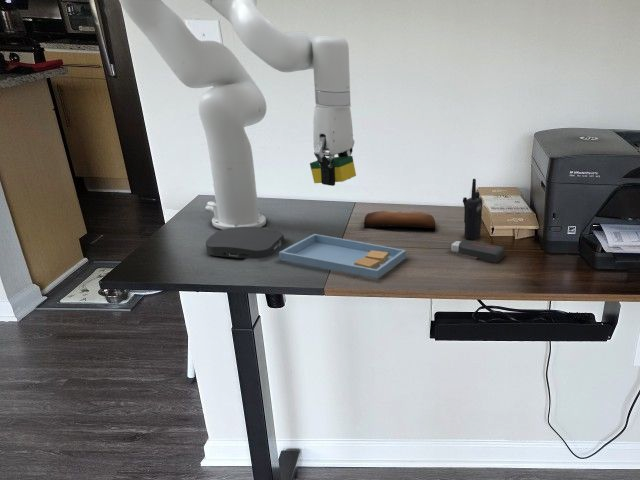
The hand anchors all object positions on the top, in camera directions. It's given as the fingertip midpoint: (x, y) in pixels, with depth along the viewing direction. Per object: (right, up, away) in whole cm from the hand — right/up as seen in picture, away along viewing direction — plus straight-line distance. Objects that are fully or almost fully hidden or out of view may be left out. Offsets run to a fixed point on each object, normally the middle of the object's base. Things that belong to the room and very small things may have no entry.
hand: (336, 180), depth 156 cm
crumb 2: (+10, -19, -6) cm, 23 cm away
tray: (+3, -20, -6) cm, 21 cm away
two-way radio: (+30, -10, +15) cm, 35 cm away
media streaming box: (-20, -16, -3) cm, 26 cm away
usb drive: (+32, -17, +4) cm, 37 cm away
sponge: (0, 0, 0) cm, 0 cm away
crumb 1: (+9, -22, -10) cm, 26 cm away
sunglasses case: (+12, -7, +18) cm, 23 cm away
